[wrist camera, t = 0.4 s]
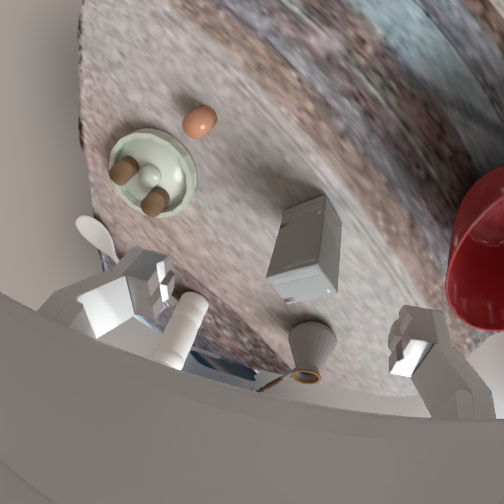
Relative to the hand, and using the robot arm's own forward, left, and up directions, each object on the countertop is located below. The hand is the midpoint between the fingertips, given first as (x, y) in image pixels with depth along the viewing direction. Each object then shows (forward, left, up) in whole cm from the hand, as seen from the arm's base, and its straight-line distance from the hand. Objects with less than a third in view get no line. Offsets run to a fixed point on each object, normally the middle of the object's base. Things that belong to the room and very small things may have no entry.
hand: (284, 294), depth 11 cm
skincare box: (+23, +1, -38) cm, 44 cm away
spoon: (+44, -39, -38) cm, 70 cm away
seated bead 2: (+24, -26, -37) cm, 51 cm away
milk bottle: (+53, -22, -38) cm, 69 cm away
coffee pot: (+58, +4, -38) cm, 70 cm away
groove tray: (+19, -28, -38) cm, 50 cm away
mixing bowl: (+12, +33, -38) cm, 52 cm away
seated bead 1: (+18, -32, -37) cm, 52 cm away
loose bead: (+8, -18, -38) cm, 42 cm away
